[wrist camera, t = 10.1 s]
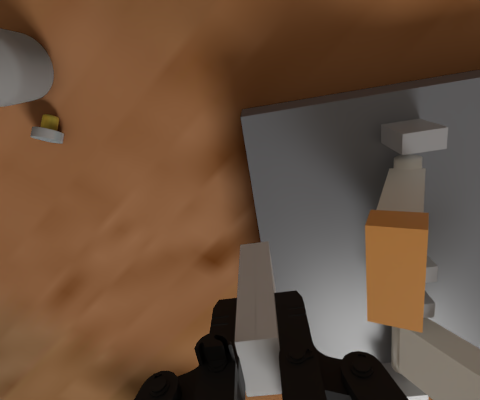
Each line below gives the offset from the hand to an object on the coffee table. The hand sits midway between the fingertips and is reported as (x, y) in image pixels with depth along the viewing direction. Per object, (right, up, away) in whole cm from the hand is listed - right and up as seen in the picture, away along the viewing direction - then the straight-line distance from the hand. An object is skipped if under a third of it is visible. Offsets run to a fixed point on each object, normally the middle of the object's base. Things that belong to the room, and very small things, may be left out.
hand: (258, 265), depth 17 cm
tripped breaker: (+10, +3, +4) cm, 11 cm away
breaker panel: (+11, 0, +11) cm, 16 cm away
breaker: (+12, -8, +8) cm, 17 cm away
